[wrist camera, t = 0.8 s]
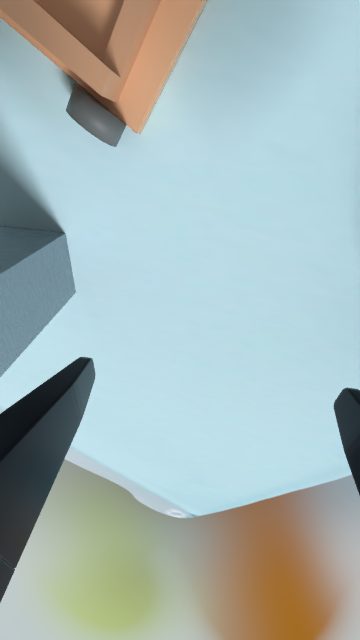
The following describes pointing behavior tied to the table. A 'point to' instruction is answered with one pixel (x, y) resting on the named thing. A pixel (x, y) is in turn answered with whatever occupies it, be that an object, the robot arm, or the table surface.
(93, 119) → the wheeled chassis
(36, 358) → the table surface
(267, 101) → the table surface
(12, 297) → the grey stepped cuboid
